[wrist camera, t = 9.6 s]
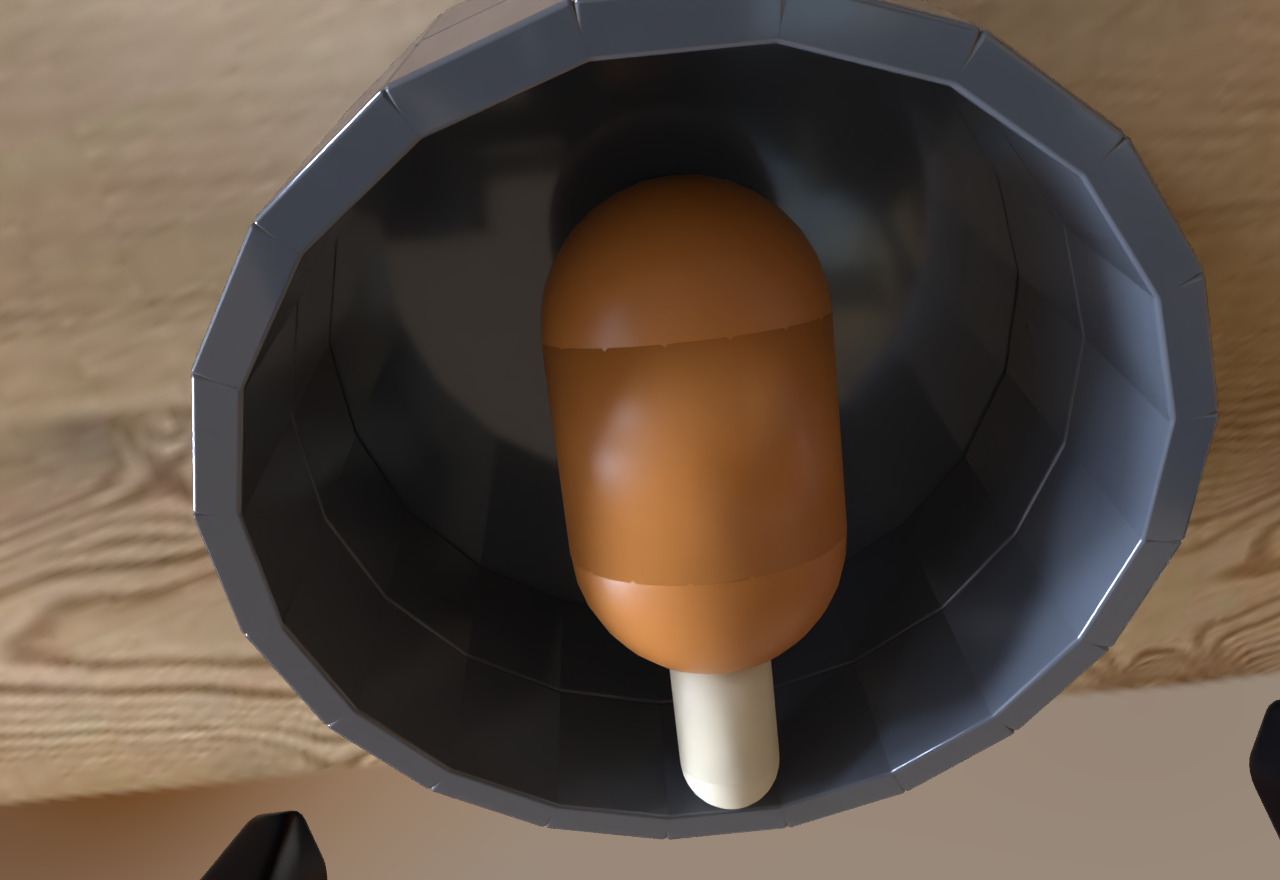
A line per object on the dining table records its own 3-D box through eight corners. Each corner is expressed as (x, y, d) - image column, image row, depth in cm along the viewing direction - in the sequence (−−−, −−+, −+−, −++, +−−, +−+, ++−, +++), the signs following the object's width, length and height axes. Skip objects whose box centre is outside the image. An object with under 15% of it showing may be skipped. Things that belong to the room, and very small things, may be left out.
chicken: (832, 720, 18) (898, 869, 13) (606, 746, 18) (605, 903, 13) (791, 167, 15) (855, 145, 11) (533, 197, 15) (505, 185, 11)
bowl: (991, 579, 20) (1112, 797, 16) (396, 638, 20) (340, 874, 16) (1093, -108, 14) (1361, -82, 9) (197, -19, 14) (-5, 54, 9)
